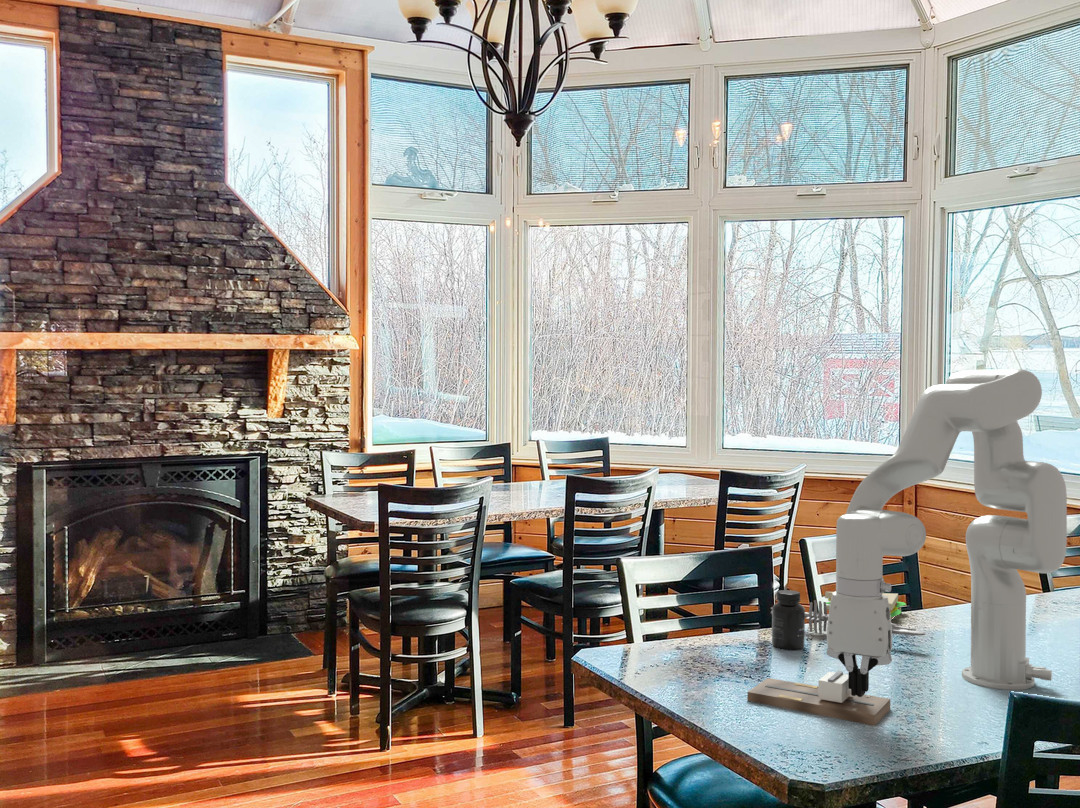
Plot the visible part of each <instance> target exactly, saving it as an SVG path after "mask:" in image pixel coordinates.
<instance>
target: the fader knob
mask: <svg viewBox="0 0 1080 808" xmlns="http://www.w3.org/2000/svg"><path fill="white" fill-rule="evenodd" d="M848 678H849V674H845V673H844V671H842V670H841V671H840V670H837V672H836V671H835V672H833V671H828V672H826V674H825V675H823V676H822V677H821V678H819V679H818V687H819V688H818V699H823V700H828V701H834V702H840V703H842V702H843V701H845V700H846V699H847V698H848V697H849V696H850V695H851V689H849V687H848Z"/></svg>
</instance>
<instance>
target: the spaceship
mask: <svg viewBox="0 0 1080 808" xmlns="http://www.w3.org/2000/svg"><path fill="white" fill-rule="evenodd" d="M826 602H827V601H823V603H822V601H821V600H819V601H818V602H817V600H813V602H812V601H810V602H809V608H808V609H809V610H808V612H806V611H805V619H806V620H808V627H809V632H810V633H813V630H814V633H819V634H822V633H823V632H825V633H827V625H828V615H829V613H828V610H827V607H826V605H827V604H826ZM799 604H800V605H802V604H801V603H799ZM813 604H814V605H813ZM813 606H814V607H813ZM772 608H773V606H772V607H770V610H771V611H770V614H771V615H772ZM804 609H805V610H806V608H805V607H804ZM822 625H823V626H822ZM891 626H892V635H894V634H895V635H904V636H911V637H915V636H926V632H924V631H921V630H918V629H916V628H913V627H908V626H902V625H900V624H896V623H892V622H891Z"/></svg>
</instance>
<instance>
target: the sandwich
mask: <svg viewBox="0 0 1080 808" xmlns="http://www.w3.org/2000/svg"><path fill="white" fill-rule="evenodd" d="M833 592H834V591H825V592H824V598H825V599H827V601H825V602H826V607H827V611H829V608H830V602H831V597H832V593H833ZM882 595H884V596H887V598H888V602H889V608H890V615H891V620H892V618H893V617H894V616H897V615H898V616H899V615H901V613H902V607H904V606H907V603H905V602H904V601H899V593H893V592H892V593H891V592H887V593H886V592H884V593H883V594H882ZM898 616H897V617H898ZM892 621H893V620H892Z"/></svg>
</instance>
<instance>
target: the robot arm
mask: <svg viewBox="0 0 1080 808" xmlns="http://www.w3.org/2000/svg"><path fill="white" fill-rule="evenodd" d="M1041 384H1042V383H1041V382H1040V380H1039V379H1038V377H1037V376H1036V375H1035V374H1034V373H1033V372H1031V371H1029V370H1026V369H1017V368H1015V369H1014V368H1013V369H1012V368H1010V369H1009V368H1007V369H1006V368H1005V369H967V370H961V371H958V372H954V373H952V374H951V375H950V376H948V378H947V380H946V381H945V383H943V384H936V385H932V386H929V387H928V388H926V389H925V390H924V391H923V392H922V393H921V395H920V397H919V399H918V400H917V401H918V402H917V404H916V406H915V408H914V410H913V413H912V415H911V418H910V420H909V422H908V424H907V426H906V429H905V431H904V433H903V436H902V438H901V441H900V442H899V445H898V447H897V450H896V451H895V452H894V454H893V455H891V456H889V458H887V459H886V460H884V461H883V462H882V463H879V465H878V466H877V467H875V469H873V470H872V471H871V472H870V473H869V474H868V475H866V476H865V477H864V478H863V480H862V481H861V482H860V483H859V485H858V486H857V487H856V489H855V491H854V493H853V495H852V497H851V500H850V502H849V504H848V506H847V509H846V512H845V513H844V514H842V515H841V516H839V517H838V518H837V520H836V529H835V530H836V531H835V532H836V533H835V535H836V537H835V540H836V547H835V548H836V550H835V552H836V554H835V561H836V563H835V565H836V567H835V575H836V576H835V591H832V592H833V593H832V597H831V601H829V602H830V604H829V605H830V608H829V610H828V614H829V615H828V621H827V625H826V644H827V648H826V655H827V656H829V657H832V658H833V659H837V660H839V662H841V664H842V665H843V666H844V667H845V670H846V671H847V672H848V675H849V678H848V687H849V689H851V695H852V696H855V695H857V696H858V697H862V696H863V695H866V693H867V692H868V691H869V688H870V687H869V686H870V685H869V680H870V679H869V678H870V676H869V675H870V671H871V670H872V669H874V668H875V667H876V666H886V665H888V666H889V665H890V664H891V663H892V662H893V659H892V654H891V651H892V649H893V634H892V626H891V623H892V621H891V615H890V608H889V602H888V598H887V596H884V595H882V594H883V593H886V592H887V593H891V591H892V584H891V583H887V582H885V580H884V577H883V570H884V569H883V565H884V564H883V562H884V561H883V559H884V558H883V557H884V556H890V557H891V556H892V557H895V556H896V557H908V556H911V555H914V554H916V553H918V552H919V551H920V550H921V549H922V547H924V545H925V543H926V540H927V532H926V527H925V524H924V523H923V521H921V520H920V519H919V518H918V517H917V516H915V515H913V514H910V513H907V512H903V511H896V510H895V511H894V510H888V509H883V508H884V506H885V505H886V504H887V503H888V502H889V500H890V499H891V498H892V497H894V496H895V495H896V494H898V493H899V492H901V491H903V490H905V489H908V488H910V487H913V486H915V485H919V484H922V483H923V482H926V481H929V480H931V479H934V478H936V477H938V476H940V475H941V474H942V473H943V472H944V471H945V468H946V466H947V463H948V462H949V461H948V460H949V459H950V455H951V454H952V451H953V449H954V447H955V444H956V441H957V439H958V437H959V435H960V433H961V432H972V433H971V434H972V438H973V481H974V482H973V483H974V494H975V495H974V496H975V498H976V500H977V501H978V502H979V503H980V504H981V505H982V506H985V507H987V508H990V509H991V508H992V509H996V510H1005V511H1010V512H1011V511H1013V512H1022V513H1026V516H1027V518H1019V517H1014V516H1007V515H1006V516H1005V515H994V514H992V515H991V514H988V515H987V514H986V515H983V516H979V517H976V518H974V520H972V521H971V522H970V524H969V525H968V527H967V529H966V532H965V547H966V551H967V552H966V553H967V556H968V562H969V568H970V570H969V571H970V583H971V584H970V589H971V590H970V593H971V595H970V596H971V597H970V666H968V667H964V668H963V669H962V670H961V677H962V678H963V679H964V680H965V681H967V682H968V683H971V684H974V685H977V686H981V687H984V688H989V689H996V690H1003V691H1004V690H1006V691H1022V690H1029V689H1031V688H1033V687H1035V684H1036V681H1035V679H1040V680H1042V681H1043V680H1044V681H1049V682H1050V681H1052V680H1053V671H1052V669H1047V668H1046V667H1044V666H1034V665H1033V664H1032V663H1030V658H1029V657H1027V656H1026V650H1027V649H1026V647H1027V646H1026V645H1027V644H1026V643H1027V642H1026V641H1027V639H1026V638H1027V634H1026V633H1027V631H1026V630H1027V621H1026V620H1027V590H1026V586H1025V583H1024V581H1023V579H1022V576H1021V574H1020V573H1019V571H1024V572H1033V573H1037V574H1052V573H1055V572H1057V571H1058V570H1059V569H1060V568H1061V567H1062V565H1063V564H1064V562H1065V559H1066V553H1067V546H1068V545H1067V542H1068V541H1067V539H1068V537H1067V535H1068V532H1067V531H1068V529H1067V528H1068V526H1067V525H1068V522H1067V519H1068V516H1067V515H1068V514H1067V512H1068V511H1067V509H1068V507H1067V506H1068V505H1067V502H1068V500H1067V499H1068V497H1067V486H1066V481H1065V478H1064V477H1063V474H1062V473H1061V471H1060V470H1059V469H1058V468H1057V467H1056V466H1054V465H1053V464H1050V463H1048V462H1042V461H1033V460H1026V459H1025V458H1024V457H1025V456H1024V440H1023V439H1024V436H1023V431H1022V429H1021V427H1020V424H1019V423H1018V421H1019V420H1022V419H1024V418H1026V417H1028V416H1029V415H1031V414H1032V413H1033V412H1034V411H1035V410H1036V409H1037V408H1038V406H1039V405H1040V402H1041V399H1042V393H1043V392H1042V391H1043V390H1042V389H1043V388H1042V385H1041ZM1018 570H1019V571H1018ZM857 656H861V661H860V667H859V665H858V661H857V660H858V659H857Z"/></svg>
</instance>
